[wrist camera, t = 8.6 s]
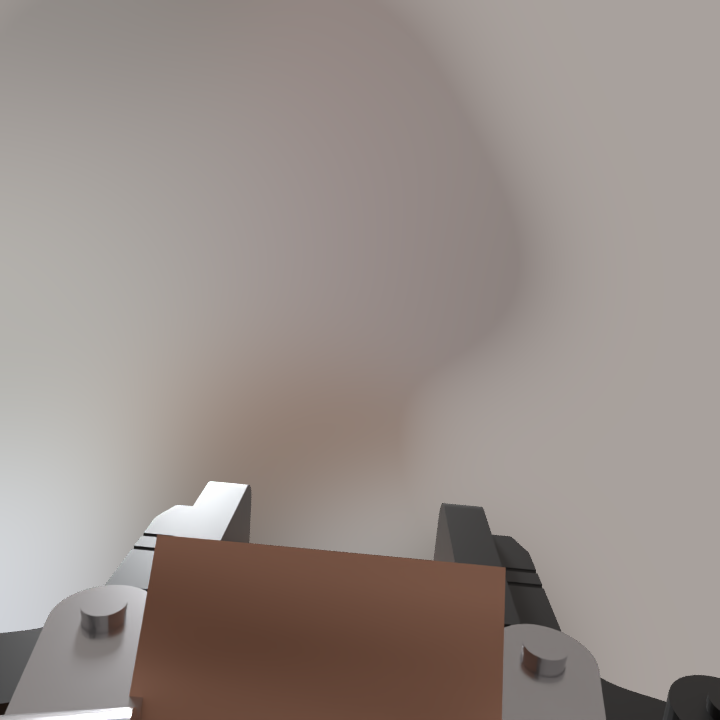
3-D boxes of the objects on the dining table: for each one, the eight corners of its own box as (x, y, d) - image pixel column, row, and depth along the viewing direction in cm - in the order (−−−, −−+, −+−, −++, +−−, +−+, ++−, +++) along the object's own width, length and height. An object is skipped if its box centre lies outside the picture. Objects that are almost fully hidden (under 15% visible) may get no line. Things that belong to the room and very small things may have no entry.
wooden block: (496, 918, 6) (505, 566, 7) (98, 876, 6) (156, 534, 7) (383, 631, 29) (388, 560, 30) (301, 624, 29) (308, 553, 30)
